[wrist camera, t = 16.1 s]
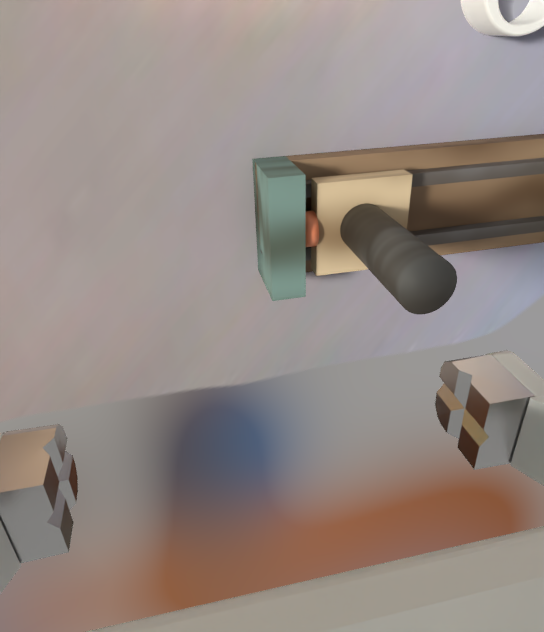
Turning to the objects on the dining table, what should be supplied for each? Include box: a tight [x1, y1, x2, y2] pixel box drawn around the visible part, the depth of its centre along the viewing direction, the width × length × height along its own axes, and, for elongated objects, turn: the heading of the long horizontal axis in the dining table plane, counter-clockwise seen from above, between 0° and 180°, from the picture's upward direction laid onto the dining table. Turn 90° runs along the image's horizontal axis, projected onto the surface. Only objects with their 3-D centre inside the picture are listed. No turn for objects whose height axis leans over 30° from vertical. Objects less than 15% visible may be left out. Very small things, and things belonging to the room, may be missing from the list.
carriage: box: [311, 169, 457, 314], centre depth 33 cm, size 7×7×12 cm
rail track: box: [253, 134, 544, 301], centre depth 39 cm, size 9×28×6 cm, turn 92°
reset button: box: [306, 210, 319, 247], centre depth 37 cm, size 3×1×3 cm, turn 2°
